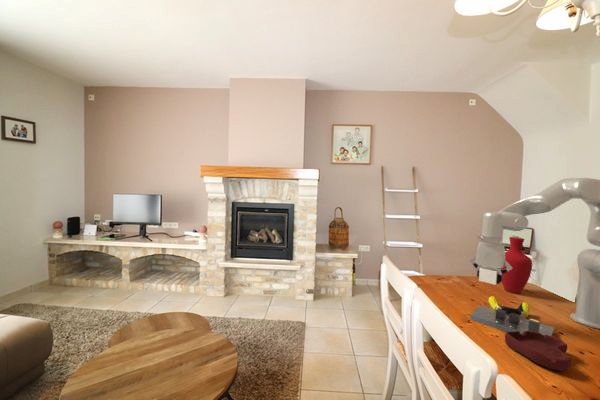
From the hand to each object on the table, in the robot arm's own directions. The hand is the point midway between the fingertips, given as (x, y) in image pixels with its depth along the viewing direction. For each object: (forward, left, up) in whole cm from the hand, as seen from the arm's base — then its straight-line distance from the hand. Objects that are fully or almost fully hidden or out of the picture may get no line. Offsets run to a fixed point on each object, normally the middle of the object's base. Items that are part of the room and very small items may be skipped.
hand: (488, 280), depth 120 cm
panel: (-9, +4, -15) cm, 18 cm away
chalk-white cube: (0, 0, 0) cm, 0 cm away
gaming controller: (-6, -10, -16) cm, 20 cm away
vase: (-1, -46, -16) cm, 49 cm away
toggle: (-17, +5, -13) cm, 22 cm away
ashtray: (-19, +21, -16) cm, 33 cm away
